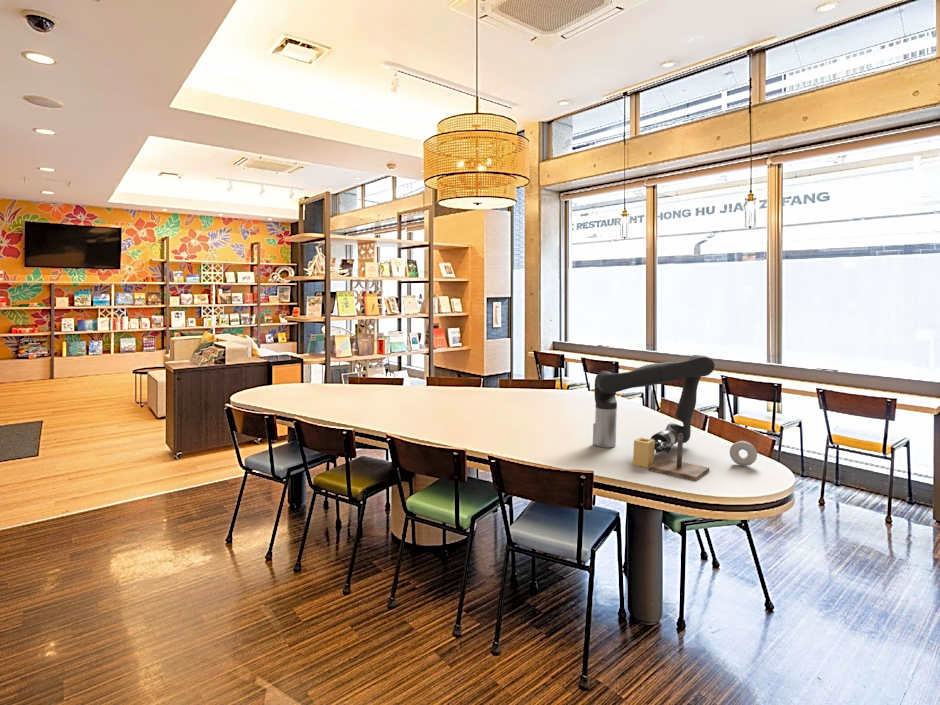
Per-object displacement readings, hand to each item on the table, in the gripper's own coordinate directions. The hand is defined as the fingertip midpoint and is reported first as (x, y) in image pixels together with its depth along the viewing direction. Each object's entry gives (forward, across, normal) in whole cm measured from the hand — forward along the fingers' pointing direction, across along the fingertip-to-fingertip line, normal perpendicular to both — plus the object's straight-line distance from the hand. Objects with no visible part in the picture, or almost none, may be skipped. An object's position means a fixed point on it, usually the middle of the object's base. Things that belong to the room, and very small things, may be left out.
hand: (646, 448), depth 225 cm
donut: (-23, +30, +6) cm, 38 cm away
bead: (+2, 0, +6) cm, 6 cm away
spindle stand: (0, +13, +6) cm, 15 cm away
